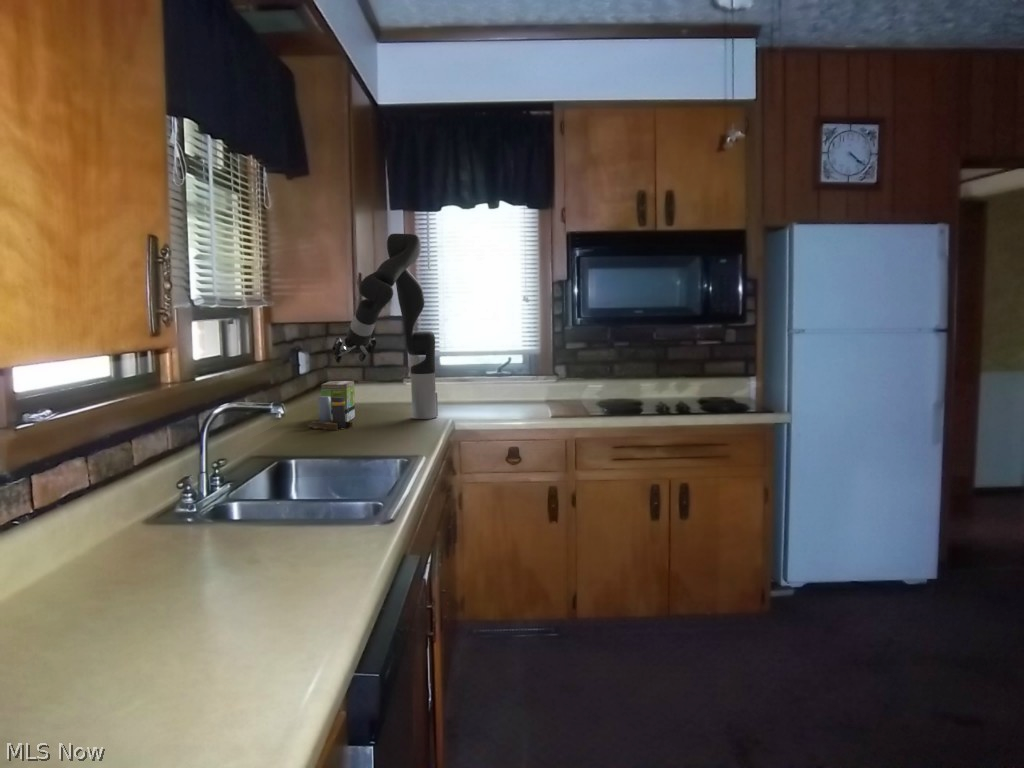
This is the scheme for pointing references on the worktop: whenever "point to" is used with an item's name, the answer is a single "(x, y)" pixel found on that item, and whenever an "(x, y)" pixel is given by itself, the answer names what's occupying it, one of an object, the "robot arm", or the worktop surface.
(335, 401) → the dark grey cylinder
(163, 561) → the worktop surface
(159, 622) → the worktop surface
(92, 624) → the worktop surface
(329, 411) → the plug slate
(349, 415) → the tea box
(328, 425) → the rack
